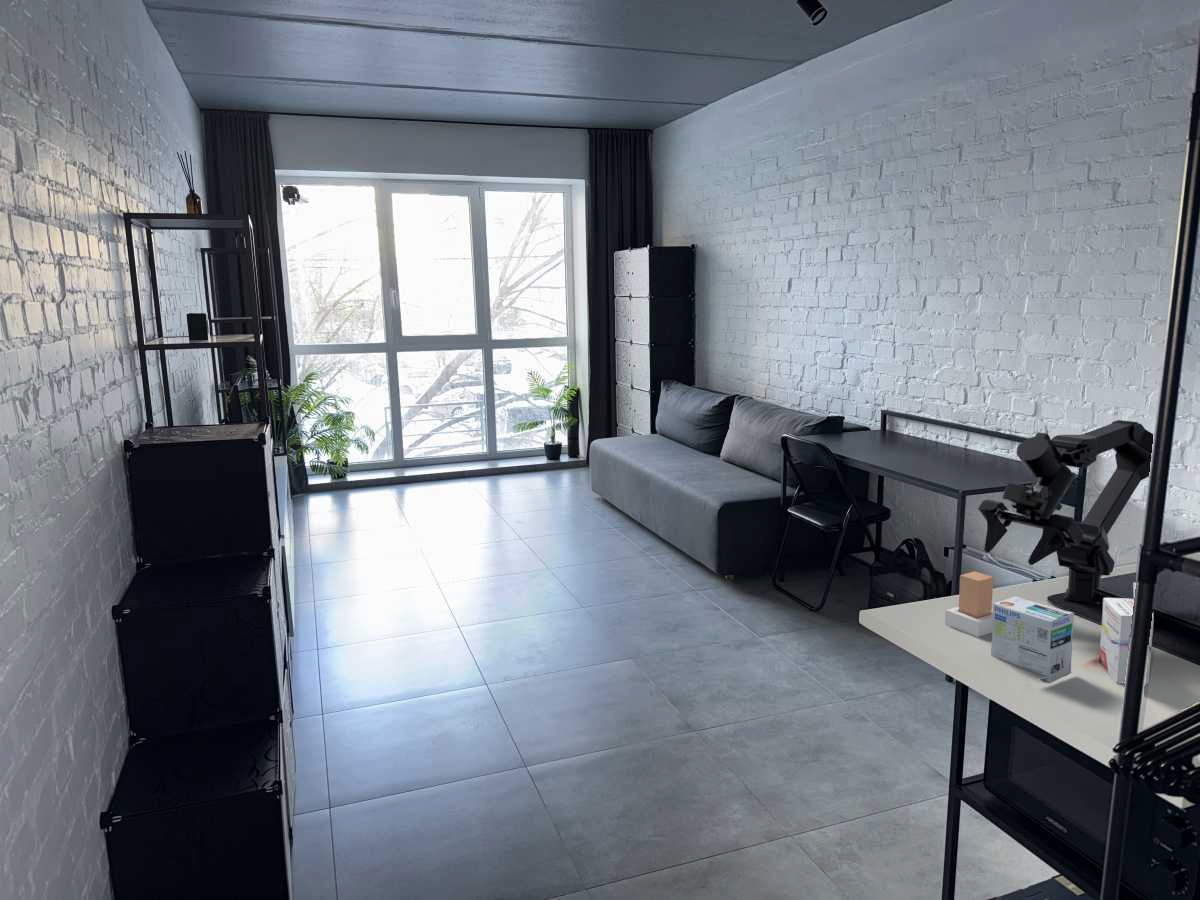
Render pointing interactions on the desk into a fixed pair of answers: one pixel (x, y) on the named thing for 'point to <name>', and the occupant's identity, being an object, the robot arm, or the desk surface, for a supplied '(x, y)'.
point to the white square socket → (969, 622)
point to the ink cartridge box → (1118, 636)
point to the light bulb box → (1033, 636)
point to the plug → (975, 594)
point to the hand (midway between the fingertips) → (1007, 557)
